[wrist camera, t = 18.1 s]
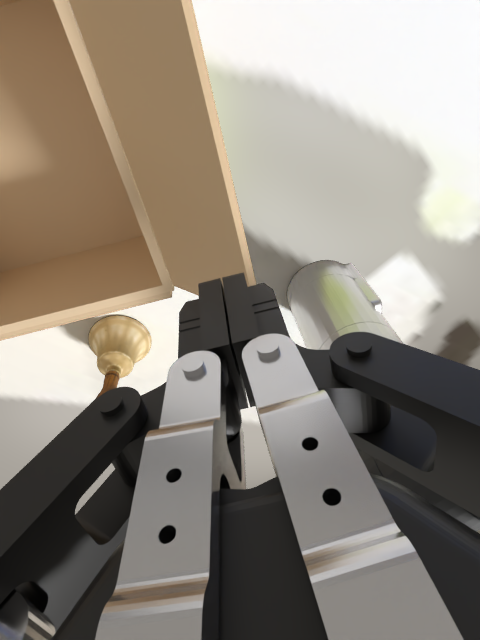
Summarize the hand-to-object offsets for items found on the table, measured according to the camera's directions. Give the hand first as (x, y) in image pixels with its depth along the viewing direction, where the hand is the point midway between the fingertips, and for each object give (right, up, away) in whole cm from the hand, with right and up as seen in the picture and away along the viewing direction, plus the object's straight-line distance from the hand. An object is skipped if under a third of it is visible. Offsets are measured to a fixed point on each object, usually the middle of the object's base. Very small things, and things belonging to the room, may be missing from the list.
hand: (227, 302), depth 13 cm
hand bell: (-16, -3, +43) cm, 46 cm away
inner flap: (-4, +10, +13) cm, 17 cm away
